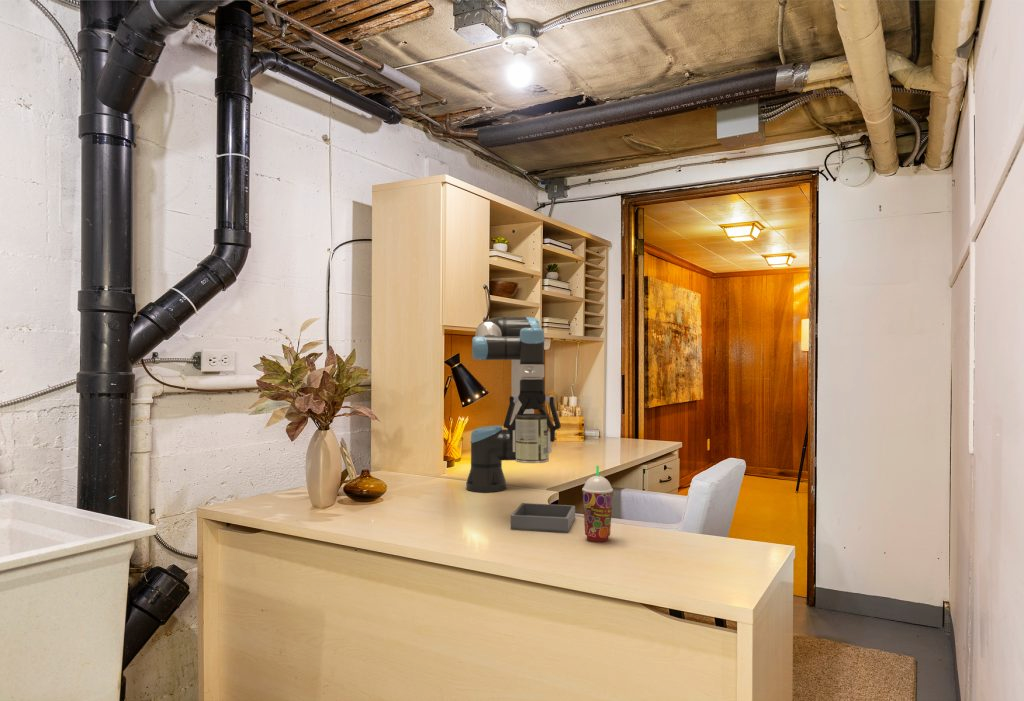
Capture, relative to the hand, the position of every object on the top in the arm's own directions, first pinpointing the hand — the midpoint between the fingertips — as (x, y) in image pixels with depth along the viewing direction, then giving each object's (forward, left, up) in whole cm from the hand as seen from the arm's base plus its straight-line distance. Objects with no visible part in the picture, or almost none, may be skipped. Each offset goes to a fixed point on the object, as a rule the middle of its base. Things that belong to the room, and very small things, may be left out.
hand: (532, 451), depth 199 cm
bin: (+3, +4, -21) cm, 21 cm away
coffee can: (0, 0, -3) cm, 3 cm away
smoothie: (+16, +21, -21) cm, 34 cm away
